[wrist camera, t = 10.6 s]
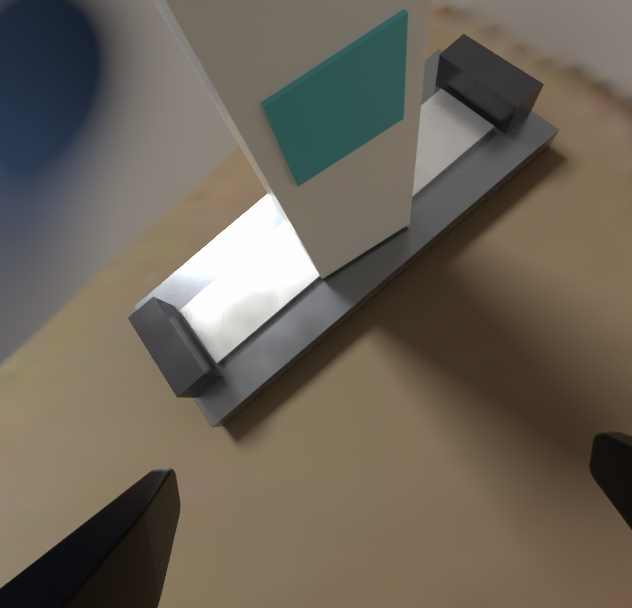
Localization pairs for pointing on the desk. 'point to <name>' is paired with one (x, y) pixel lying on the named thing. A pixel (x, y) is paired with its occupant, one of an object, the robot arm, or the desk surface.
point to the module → (318, 107)
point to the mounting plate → (357, 275)
